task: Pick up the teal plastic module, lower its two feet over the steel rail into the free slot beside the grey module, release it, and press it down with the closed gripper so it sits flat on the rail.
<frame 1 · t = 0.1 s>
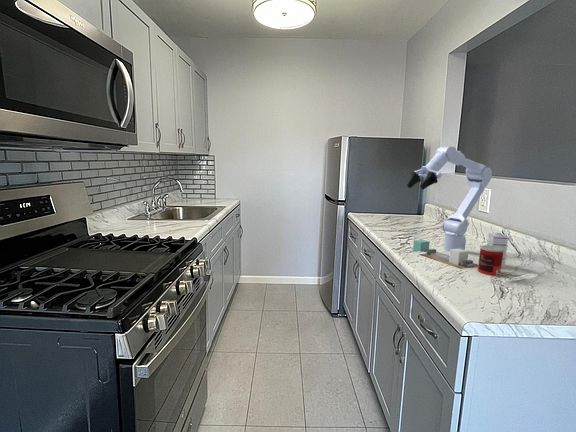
hand: (414, 187, 149), 32 cm above the table, tool tilted 50°, fingers open, 7 cm apart
mounting board: (447, 262, 149), on the table
grey module: (457, 262, 144), resting on mounting board
canned food: (488, 275, 134), on the table
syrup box: (494, 268, 143), on the table
teal module: (420, 252, 165), on the table
steel rail: (448, 257, 149), on the mounting board, point 2 cm above the table
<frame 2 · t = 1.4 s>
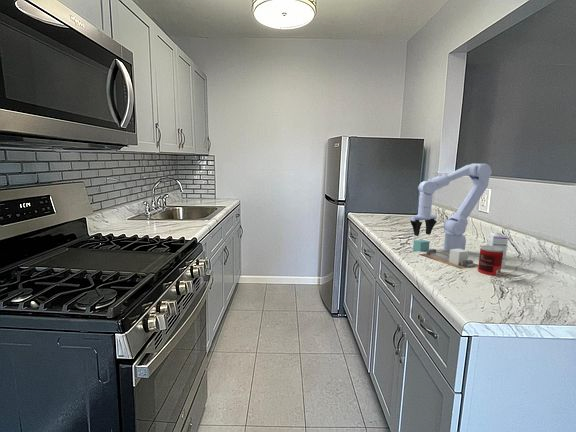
hand: (422, 235, 164), 8 cm above the table, tool pointing down, fingers open, 7 cm apart
nothing on the table moved.
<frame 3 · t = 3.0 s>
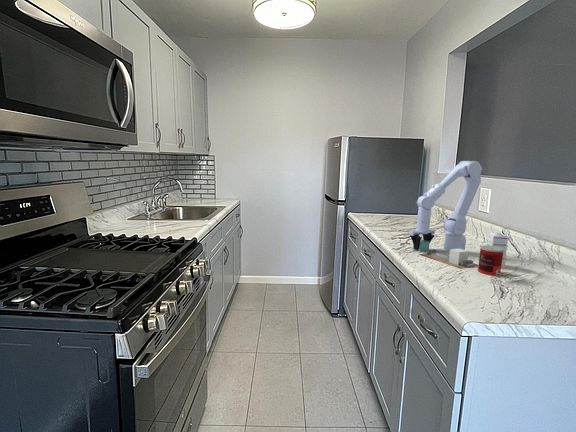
hand: (420, 249, 165), 1 cm above the table, tool pointing down, fingers closed on teal module, 6 cm apart
teal module: (420, 251, 165), on the table, touching gripper
everything else where it was.
when the fingers open (4 cm above the table, at t = 7.0 s): teal module drops 1 cm, resting on mounting board, steel rail.
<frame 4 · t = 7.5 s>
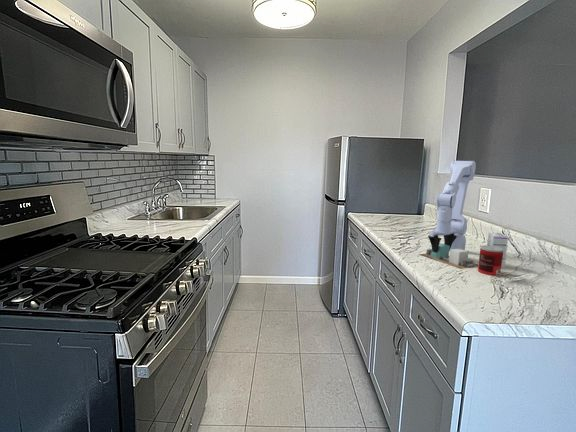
hand: (440, 251, 152), 4 cm above the table, tool pointing down, fingers open, 7 cm apart
teal module: (439, 257, 153), point 1 cm above the table, touching mounting board, steel rail
everything else where it was.
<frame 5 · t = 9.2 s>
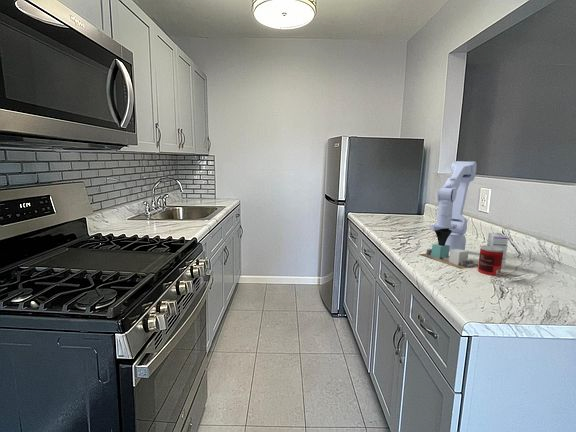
hand: (441, 245, 151), 7 cm above the table, tool pointing down, fingers closed, pressing on teal module
teal module: (439, 257, 153), point 1 cm above the table, touching gripper, mounting board, steel rail
everything else where it was.
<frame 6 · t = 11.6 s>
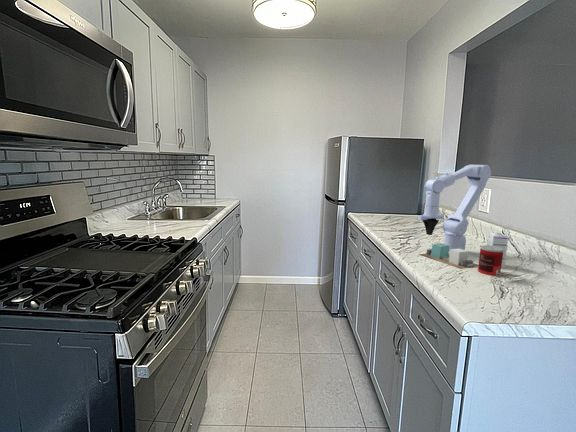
hand: (429, 234, 160), 9 cm above the table, tool pointing down, fingers closed
teal module: (439, 256, 153), point 1 cm above the table, touching mounting board, steel rail
everything else where it was.
at the end: teal module 0.4 cm from the target spot on the steel rail, point 1.2 cm above the steel rail's base; teal module tilted 0°; the gripper is holding nothing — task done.
